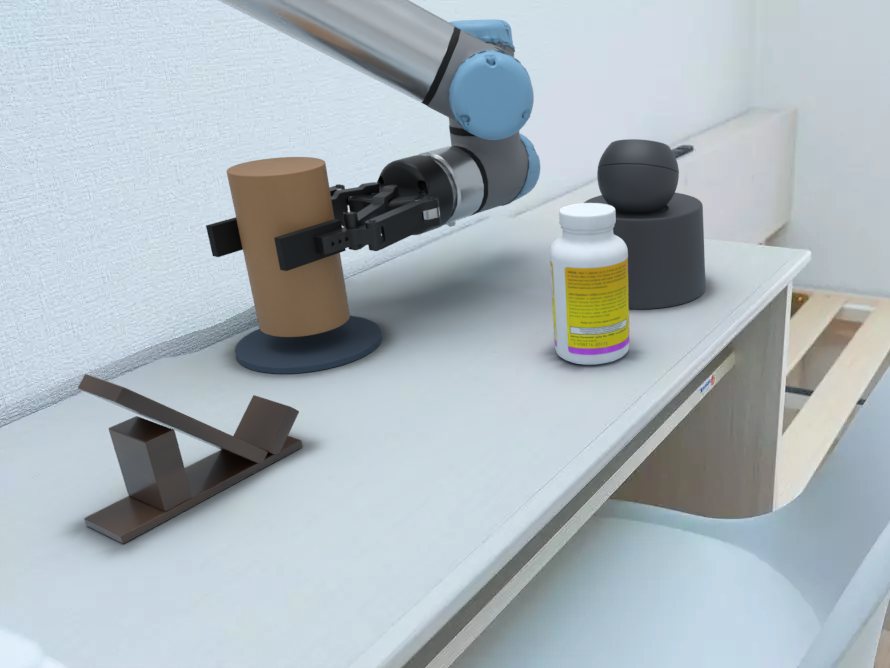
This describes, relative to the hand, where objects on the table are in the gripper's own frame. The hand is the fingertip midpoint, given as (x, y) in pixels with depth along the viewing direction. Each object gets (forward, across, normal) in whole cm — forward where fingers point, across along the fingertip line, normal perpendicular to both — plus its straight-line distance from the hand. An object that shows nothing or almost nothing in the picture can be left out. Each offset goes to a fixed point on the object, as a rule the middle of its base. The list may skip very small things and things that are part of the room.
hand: (245, 247), depth 75 cm
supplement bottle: (-16, -24, -11) cm, 31 cm away
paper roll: (-5, 0, -1) cm, 5 cm away
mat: (-5, 0, -10) cm, 12 cm away
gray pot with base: (-34, -19, -11) cm, 40 cm away
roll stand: (+16, -13, -11) cm, 23 cm away
